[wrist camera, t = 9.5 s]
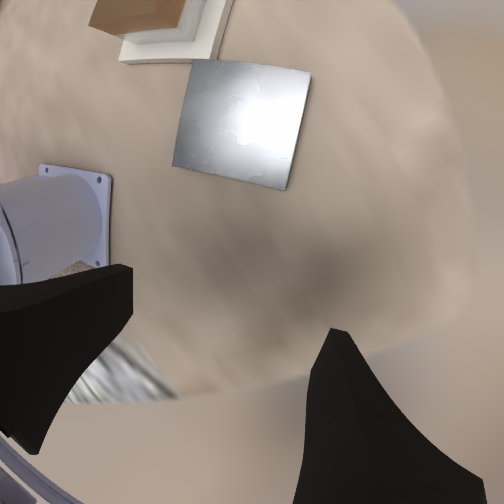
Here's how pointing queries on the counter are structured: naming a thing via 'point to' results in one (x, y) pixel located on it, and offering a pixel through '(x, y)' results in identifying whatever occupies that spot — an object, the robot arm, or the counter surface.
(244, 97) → the stand
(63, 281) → the robot arm
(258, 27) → the counter surface
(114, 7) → the block
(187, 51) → the stand
